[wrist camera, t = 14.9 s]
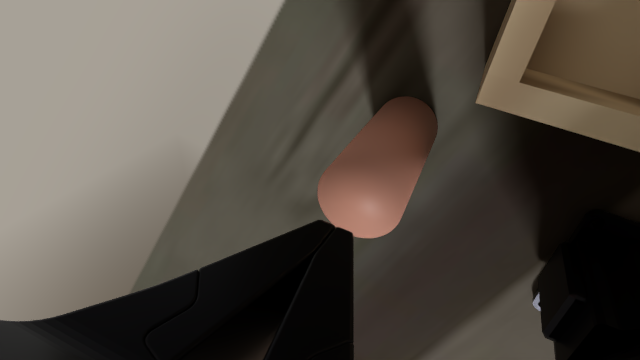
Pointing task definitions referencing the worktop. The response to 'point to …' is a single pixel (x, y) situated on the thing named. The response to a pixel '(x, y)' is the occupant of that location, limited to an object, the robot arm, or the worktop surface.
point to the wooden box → (569, 67)
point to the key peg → (379, 169)
